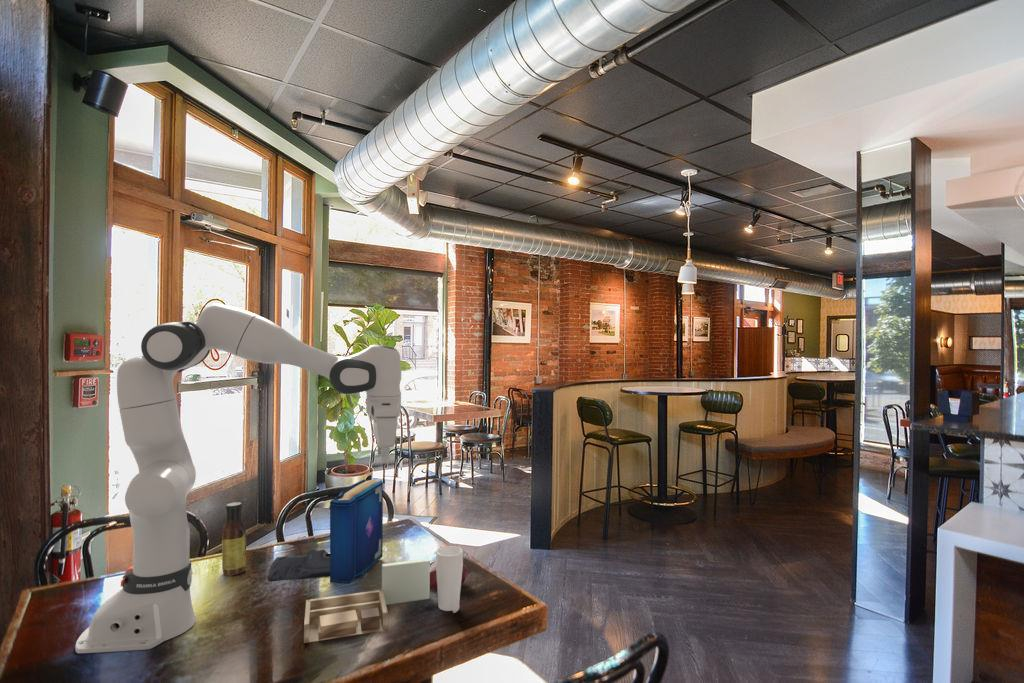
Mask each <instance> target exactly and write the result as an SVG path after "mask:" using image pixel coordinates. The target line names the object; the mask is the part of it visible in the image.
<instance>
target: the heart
mask: <svg viewBox="0 0 1024 683" xmlns="http://www.w3.org/2000/svg"><path fill="white" fill-rule="evenodd" d="M468 577H469V569H468V568H467V566H466V565H465V563H464V562H463V570H462V580H461V586H463V585H464V584H465V582H466V581H467V580H468ZM430 588H431V589H432V590H435V589H436V590H438V589H437V575H436V559H435V560H433V561H431V562H430Z"/></svg>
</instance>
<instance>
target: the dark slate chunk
mask: <svg viewBox="0 0 1024 683" xmlns="http://www.w3.org/2000/svg"><path fill="white" fill-rule="evenodd" d="M328 577H329V578H330V552H329V553H328V552H327V551H326V550H325V549H320V550H316V549H310V550H309V551H307V553H306V554H302V555H294V556H293V555H292V556H288V555H287V556H286V555H285V556H277V557H276V558H275V559H274V560H273V561H272V563H271V564H270V567H269V569H268V575H267V578H268V581H269V582H275V581H277V582H278V581H290V580H304V579H306V580H307V579H317V578H328Z"/></svg>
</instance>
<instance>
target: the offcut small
mask: <svg viewBox="0 0 1024 683" xmlns="http://www.w3.org/2000/svg"><path fill="white" fill-rule="evenodd" d="M379 624H380V615H379V610H378V608H372V609H365V610H361V631H368V630H374V629H379Z"/></svg>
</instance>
